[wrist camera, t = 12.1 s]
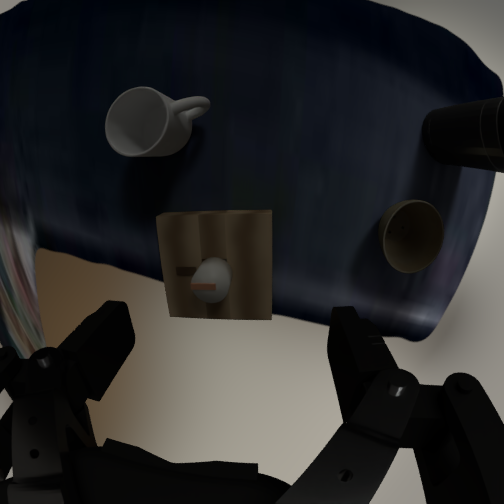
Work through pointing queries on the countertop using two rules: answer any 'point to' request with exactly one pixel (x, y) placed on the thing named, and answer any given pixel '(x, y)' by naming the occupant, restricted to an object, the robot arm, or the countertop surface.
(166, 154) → the mug
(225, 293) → the knob
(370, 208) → the countertop surface
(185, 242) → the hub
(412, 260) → the yellowish brown bowl
